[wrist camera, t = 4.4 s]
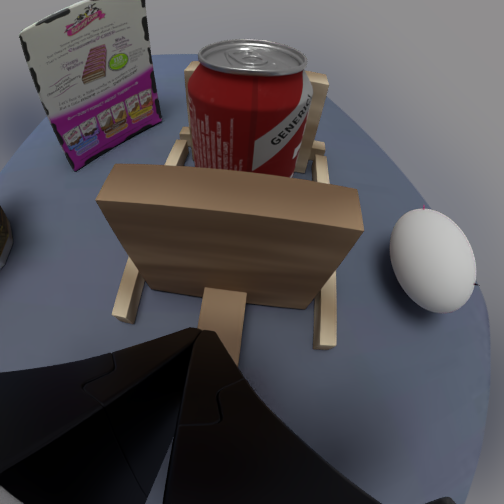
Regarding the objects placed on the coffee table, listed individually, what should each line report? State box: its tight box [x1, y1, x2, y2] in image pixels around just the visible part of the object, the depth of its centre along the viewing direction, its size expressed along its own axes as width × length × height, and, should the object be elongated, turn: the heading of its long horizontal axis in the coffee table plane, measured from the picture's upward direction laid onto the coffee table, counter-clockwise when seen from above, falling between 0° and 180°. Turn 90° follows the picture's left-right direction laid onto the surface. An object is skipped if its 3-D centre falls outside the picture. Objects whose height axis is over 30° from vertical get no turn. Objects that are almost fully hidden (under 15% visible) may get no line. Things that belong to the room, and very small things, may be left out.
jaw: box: [96, 164, 364, 367], centre depth 12 cm, size 9×10×9 cm
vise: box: [112, 61, 337, 350], centre depth 16 cm, size 18×13×9 cm
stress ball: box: [390, 207, 477, 313], centre depth 16 cm, size 8×8×7 cm
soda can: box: [187, 39, 313, 178], centre depth 16 cm, size 7×7×12 cm
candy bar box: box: [19, 0, 162, 171], centre depth 18 cm, size 11×5×16 cm, turn 133°
